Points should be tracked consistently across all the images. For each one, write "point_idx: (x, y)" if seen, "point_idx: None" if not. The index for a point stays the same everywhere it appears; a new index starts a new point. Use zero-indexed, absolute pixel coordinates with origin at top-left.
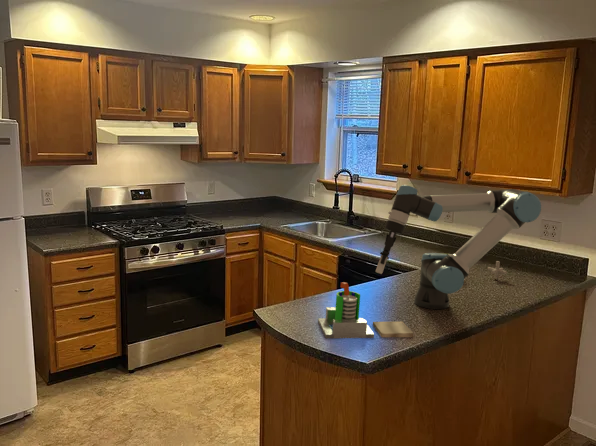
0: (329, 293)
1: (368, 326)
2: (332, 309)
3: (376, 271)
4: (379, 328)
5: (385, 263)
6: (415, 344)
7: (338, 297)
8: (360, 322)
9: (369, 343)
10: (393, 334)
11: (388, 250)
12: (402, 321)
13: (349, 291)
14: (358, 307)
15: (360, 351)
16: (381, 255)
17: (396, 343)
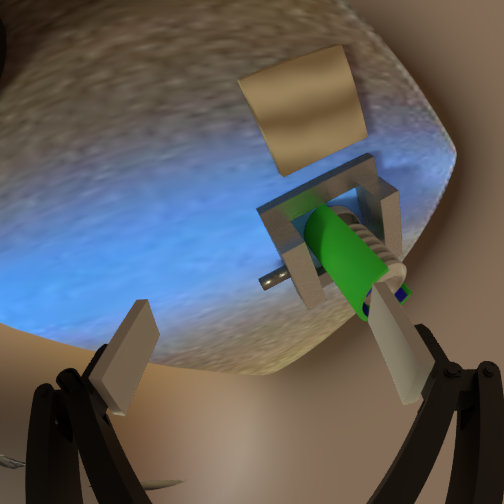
0: (80, 346)
1: (327, 180)
2: (320, 293)
3: (156, 333)
4: (334, 147)
5: (412, 325)
6: (380, 45)
7: (399, 301)
8: (399, 205)
9: (396, 158)
10: (358, 103)
11: (496, 396)
12: (240, 80)
13: (362, 304)
14: (362, 241)
15: (427, 170)
16: (417, 396)
17: (386, 94)
